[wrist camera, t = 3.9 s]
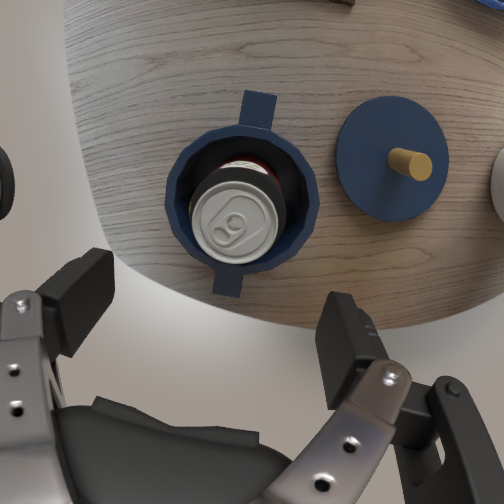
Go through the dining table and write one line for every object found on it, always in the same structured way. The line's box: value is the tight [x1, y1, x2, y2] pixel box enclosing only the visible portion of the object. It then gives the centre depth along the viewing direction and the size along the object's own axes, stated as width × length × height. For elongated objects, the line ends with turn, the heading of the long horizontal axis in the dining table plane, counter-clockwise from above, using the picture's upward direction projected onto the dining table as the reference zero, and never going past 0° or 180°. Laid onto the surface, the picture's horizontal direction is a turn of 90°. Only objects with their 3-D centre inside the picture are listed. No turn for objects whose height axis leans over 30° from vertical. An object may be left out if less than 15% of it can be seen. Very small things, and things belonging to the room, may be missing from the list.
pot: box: [165, 90, 320, 298], centre depth 26 cm, size 12×17×7 cm
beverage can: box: [189, 155, 286, 264], centre depth 24 cm, size 6×6×12 cm
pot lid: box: [335, 96, 449, 222], centre depth 25 cm, size 13×13×6 cm
